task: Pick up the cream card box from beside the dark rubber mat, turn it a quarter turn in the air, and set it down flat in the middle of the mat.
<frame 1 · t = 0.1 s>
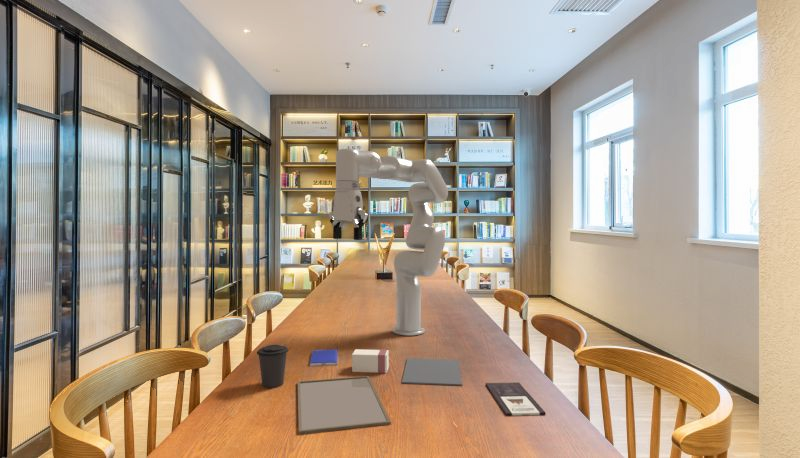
hand: (347, 239, 142), 37 cm above the table, tool pointing down, fingers open, 9 cm apart
card box: (370, 369, 126), on the table
mat: (432, 371, 125), on the table
picture frame: (339, 404, 104), on the table
chocolate bar: (513, 401, 106), on the table
coffee cup: (272, 384, 115), on the table
hard drive: (324, 361, 136), on the table
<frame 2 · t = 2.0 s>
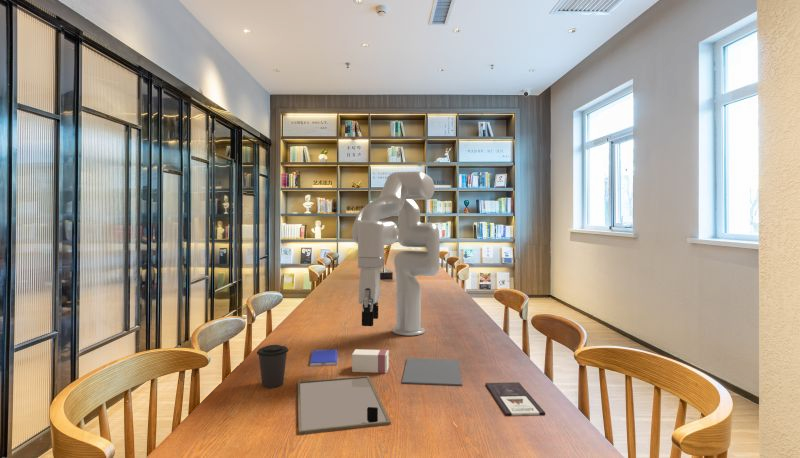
hand: (370, 322, 126), 14 cm above the table, tool pointing down, fingers open, 9 cm apart
nothing on the table moved.
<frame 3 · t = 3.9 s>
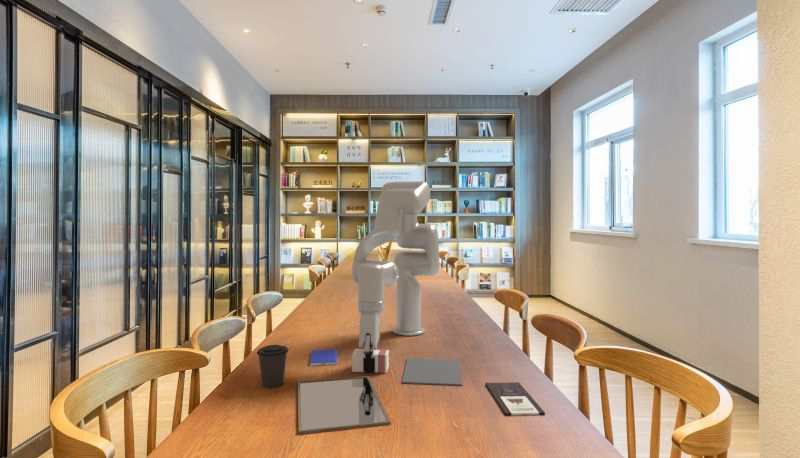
hand: (370, 367, 126), 0 cm above the table, tool pointing down, fingers closed on card box, 5 cm apart
card box: (370, 369, 126), on the table, touching gripper
everything else where it was.
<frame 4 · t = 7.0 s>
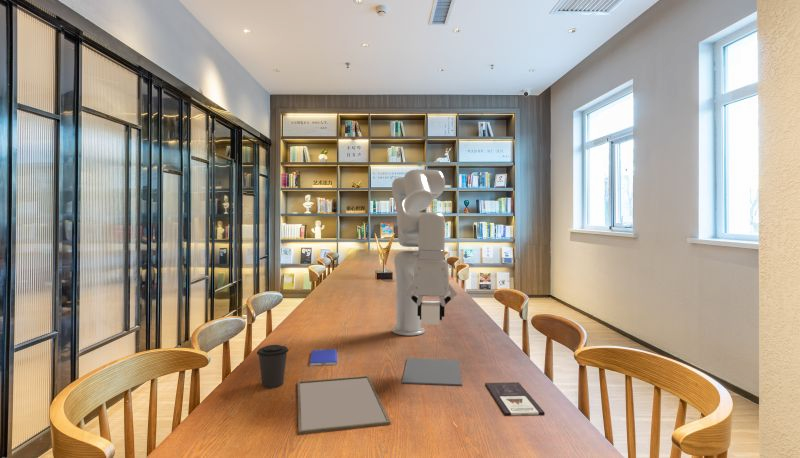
hand: (430, 318, 124), 15 cm above the table, tool pointing down, fingers closed on card box, 5 cm apart
card box: (430, 319, 124), point 15 cm above the table, touching gripper
everything else where it was.
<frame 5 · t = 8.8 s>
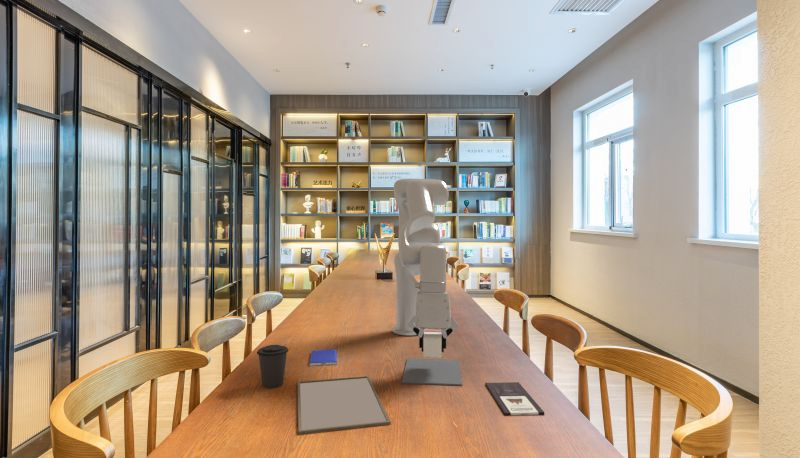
hand: (432, 350, 124), 6 cm above the table, tool pointing down, fingers closed on card box, 5 cm apart
card box: (432, 351, 124), point 6 cm above the table, touching gripper
everything else where it was.
when the fingers open (2 cm above the table, at t = 10.4 s): card box drops 1 cm, resting on mat.
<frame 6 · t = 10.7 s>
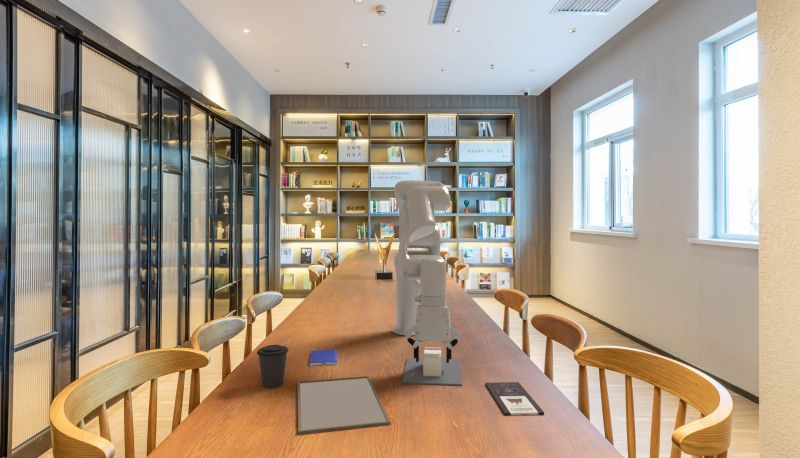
hand: (432, 360, 125), 3 cm above the table, tool pointing down, fingers open, 8 cm apart
card box: (432, 369, 125), resting on mat
everything else where it was.
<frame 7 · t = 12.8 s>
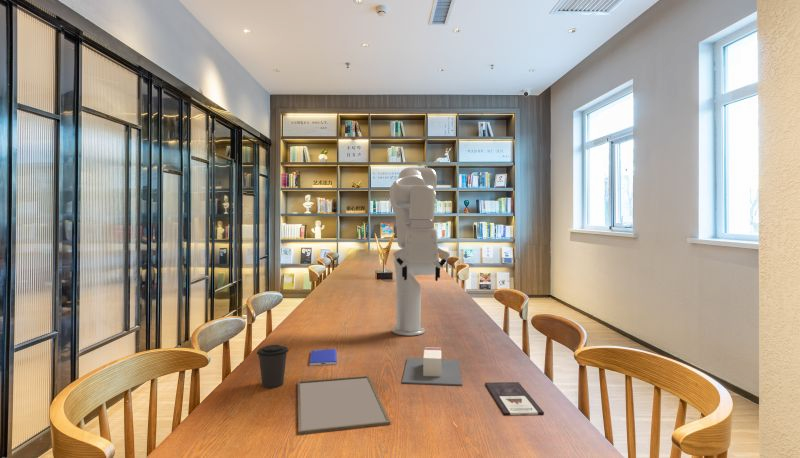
hand: (421, 279, 135), 25 cm above the table, tool pointing down, fingers open, 9 cm apart
nothing on the table moved.
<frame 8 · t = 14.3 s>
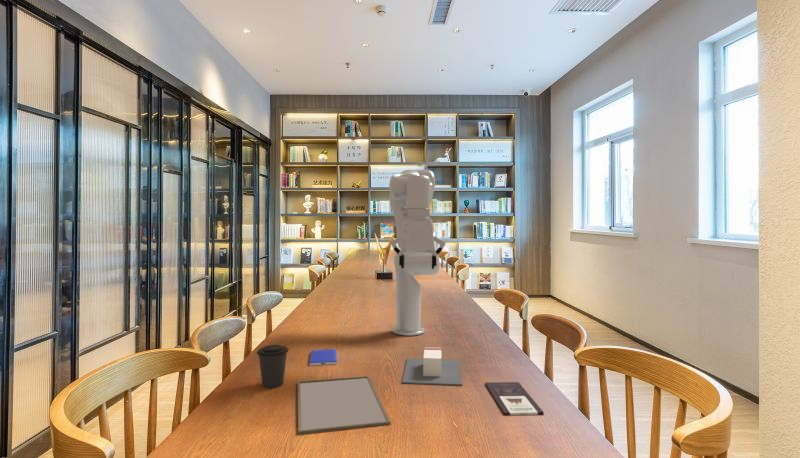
hand: (417, 268, 137), 28 cm above the table, tool pointing down, fingers open, 9 cm apart
nothing on the table moved.
at the end: card box inside the target area on the mat (0.1 cm from its centre), point 0.4 cm above the mat's base; card box tilted 0°; the gripper is holding nothing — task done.
